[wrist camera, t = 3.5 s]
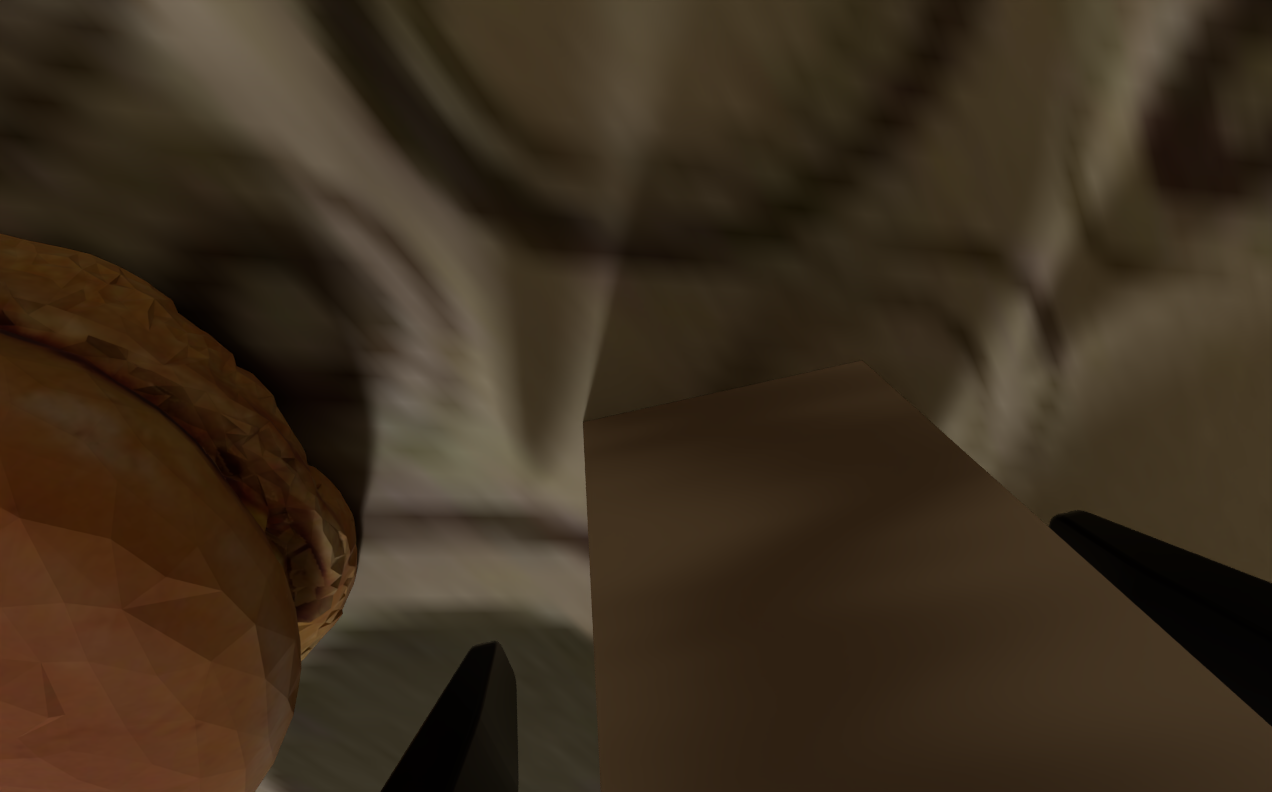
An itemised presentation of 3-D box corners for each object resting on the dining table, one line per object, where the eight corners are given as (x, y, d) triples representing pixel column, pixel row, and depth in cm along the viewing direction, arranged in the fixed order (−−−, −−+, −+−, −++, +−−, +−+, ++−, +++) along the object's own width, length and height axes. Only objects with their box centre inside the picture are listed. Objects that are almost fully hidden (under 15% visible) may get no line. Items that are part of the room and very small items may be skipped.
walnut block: (861, 360, 10) (1333, 780, 4) (861, 565, 12) (1154, 1029, 6) (582, 421, 10) (607, 943, 4) (636, 615, 12) (705, 1130, 6)
